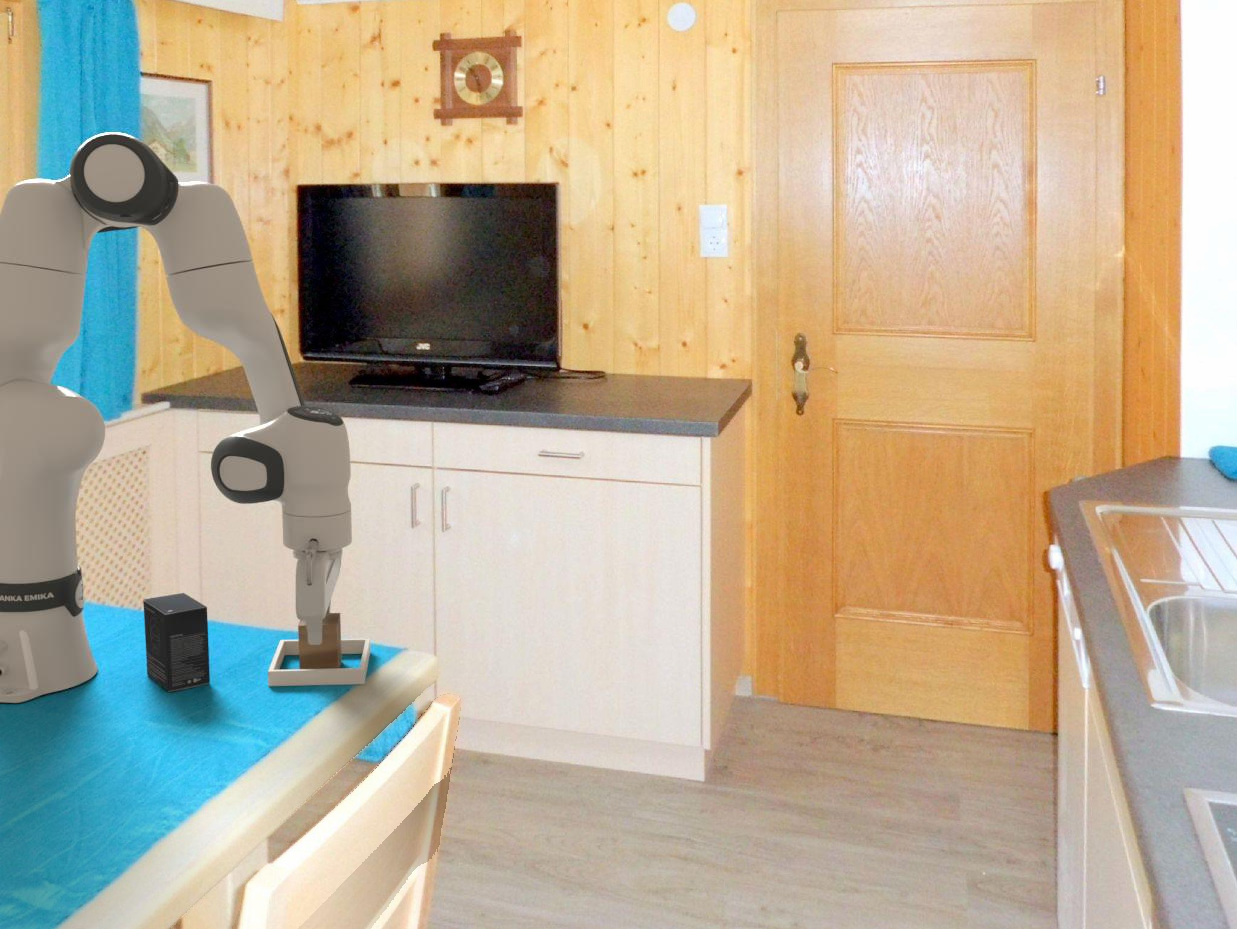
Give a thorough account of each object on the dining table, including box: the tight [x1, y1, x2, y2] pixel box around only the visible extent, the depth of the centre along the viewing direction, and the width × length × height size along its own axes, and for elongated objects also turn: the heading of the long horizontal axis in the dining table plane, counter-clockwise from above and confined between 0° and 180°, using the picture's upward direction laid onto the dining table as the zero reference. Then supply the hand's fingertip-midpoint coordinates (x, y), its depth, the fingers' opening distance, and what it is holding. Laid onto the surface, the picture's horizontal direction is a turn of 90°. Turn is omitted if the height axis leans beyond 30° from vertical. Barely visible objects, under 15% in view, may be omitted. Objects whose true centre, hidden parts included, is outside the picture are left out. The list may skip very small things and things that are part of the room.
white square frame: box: [267, 637, 371, 687], centre depth 179 cm, size 12×12×2 cm
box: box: [143, 592, 211, 693], centre depth 173 cm, size 8×6×11 cm
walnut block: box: [297, 612, 342, 669], centre depth 179 cm, size 5×5×7 cm
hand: (319, 631), depth 178 cm, fingers open, 8 cm apart
